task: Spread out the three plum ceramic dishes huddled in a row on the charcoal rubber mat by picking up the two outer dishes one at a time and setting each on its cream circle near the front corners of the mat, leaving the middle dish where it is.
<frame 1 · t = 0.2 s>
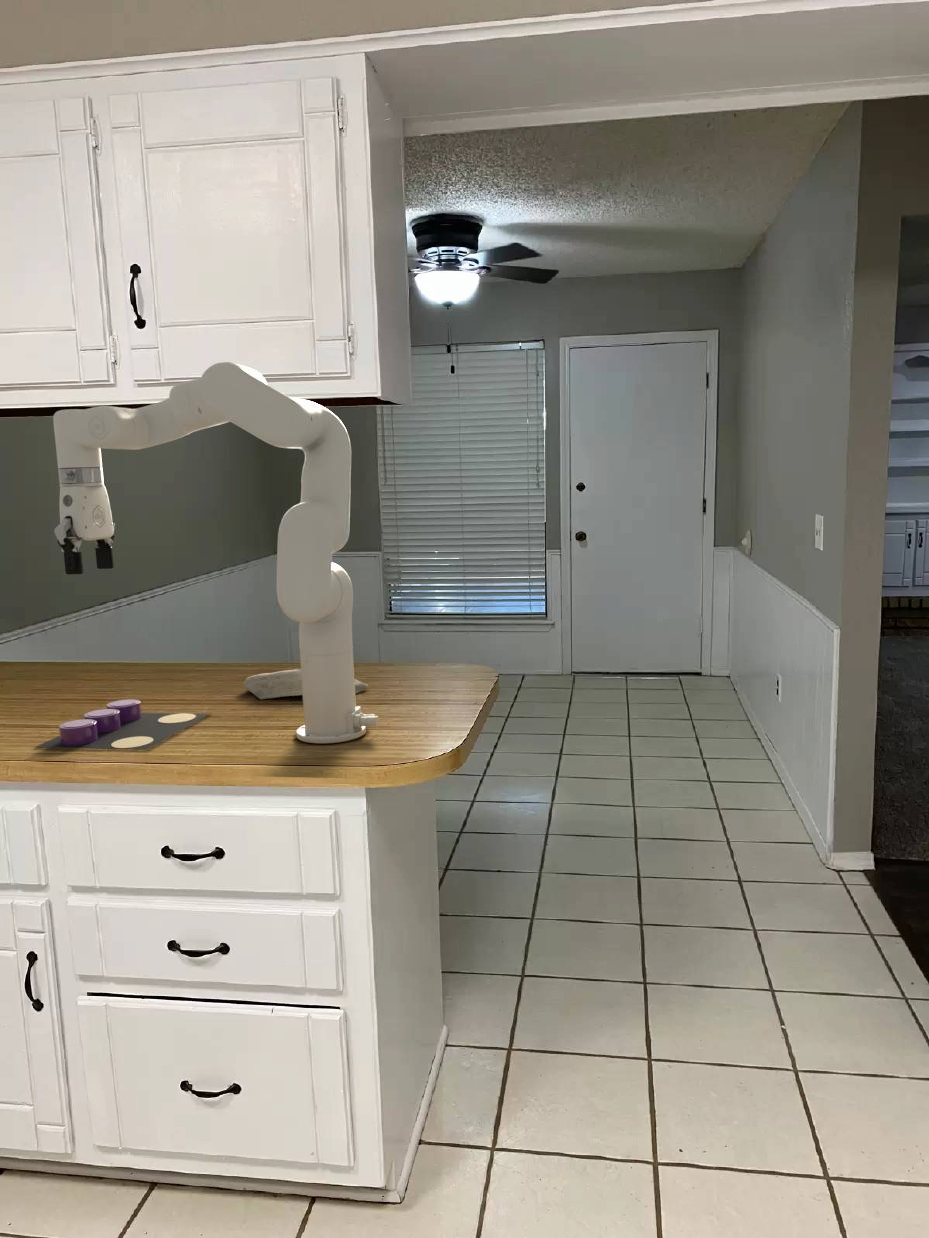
hand: (90, 571, 168), 31 cm above the table, tool pointing down, fingers open, 9 cm apart
dish c: (103, 729, 173), resting on mat
dish b: (79, 740, 166), resting on mat
dish a: (125, 718, 180), resting on mat
stone: (301, 693, 199), on the table
mat: (127, 731, 172), on the table
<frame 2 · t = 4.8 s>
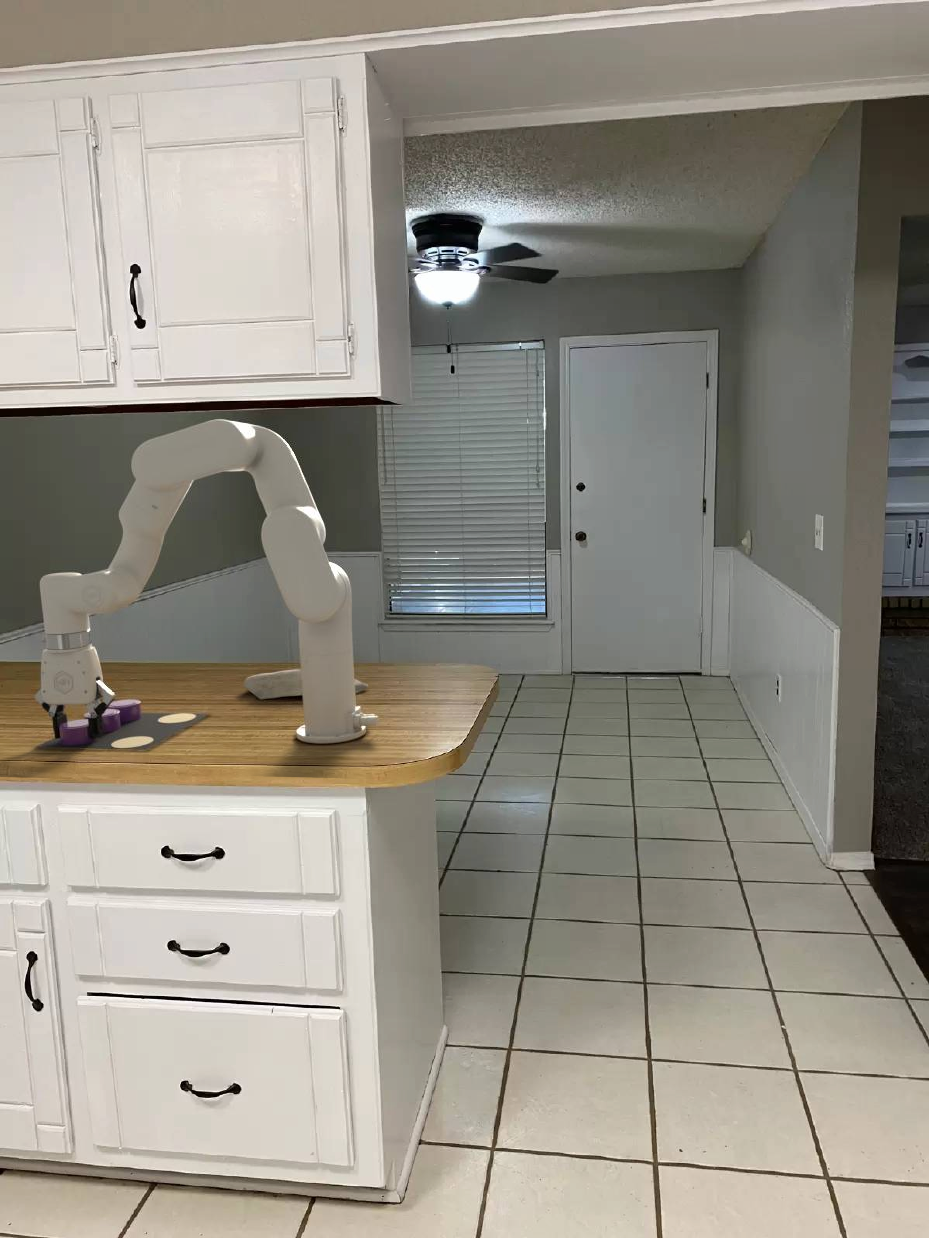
hand: (79, 736, 166), 1 cm above the table, tool pointing down, fingers closed on dish b, 6 cm apart
dish b: (79, 740, 166), resting on mat, touching gripper
everything else where it was.
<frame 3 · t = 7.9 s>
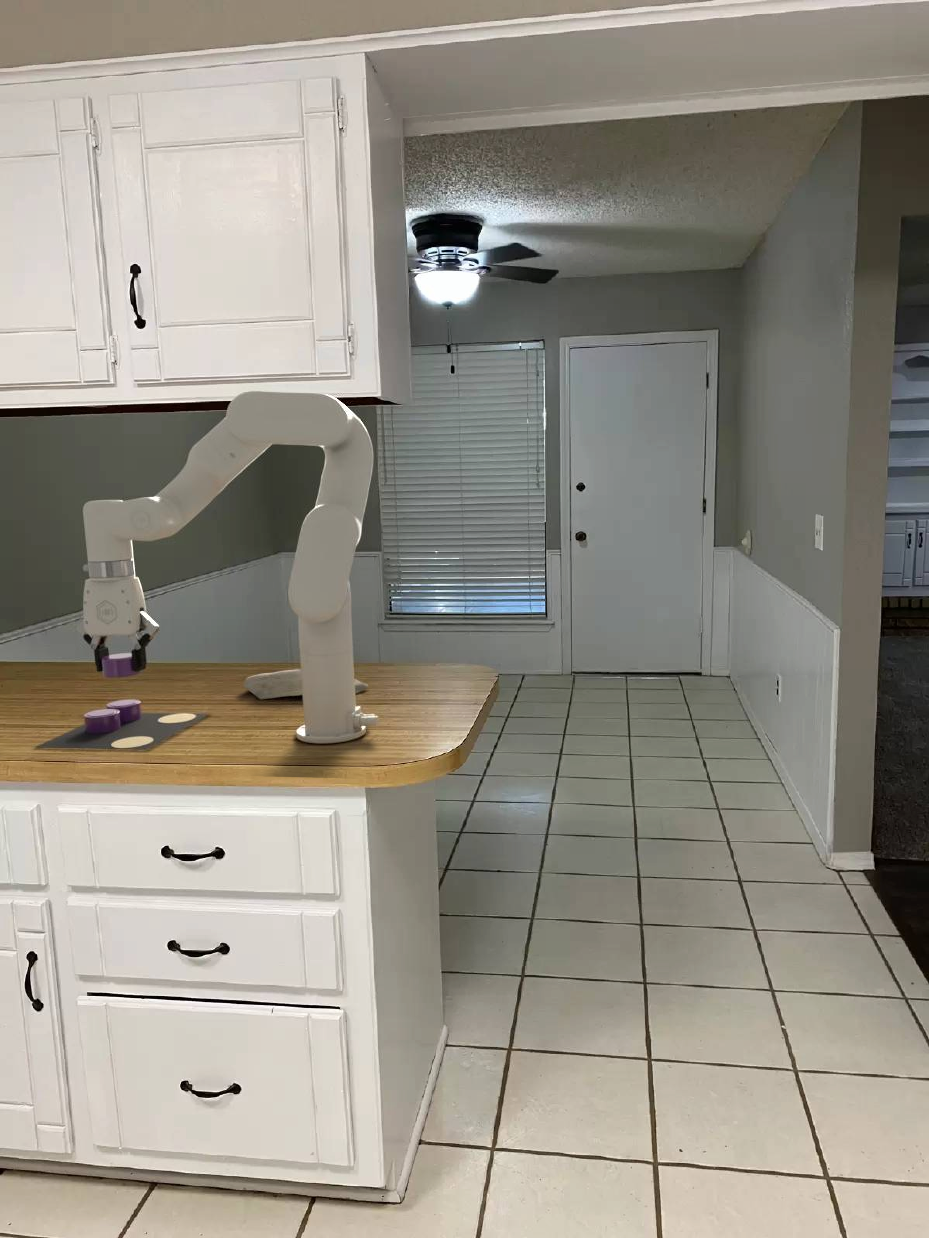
hand: (121, 669, 161), 14 cm above the table, tool pointing down, fingers closed on dish b, 6 cm apart
dish b: (122, 673, 161), point 13 cm above the table, touching gripper
everything else where it was.
when the fingers open (1 cm above the table, at t = 11.3 s): dish b stays where it is, resting on mat.
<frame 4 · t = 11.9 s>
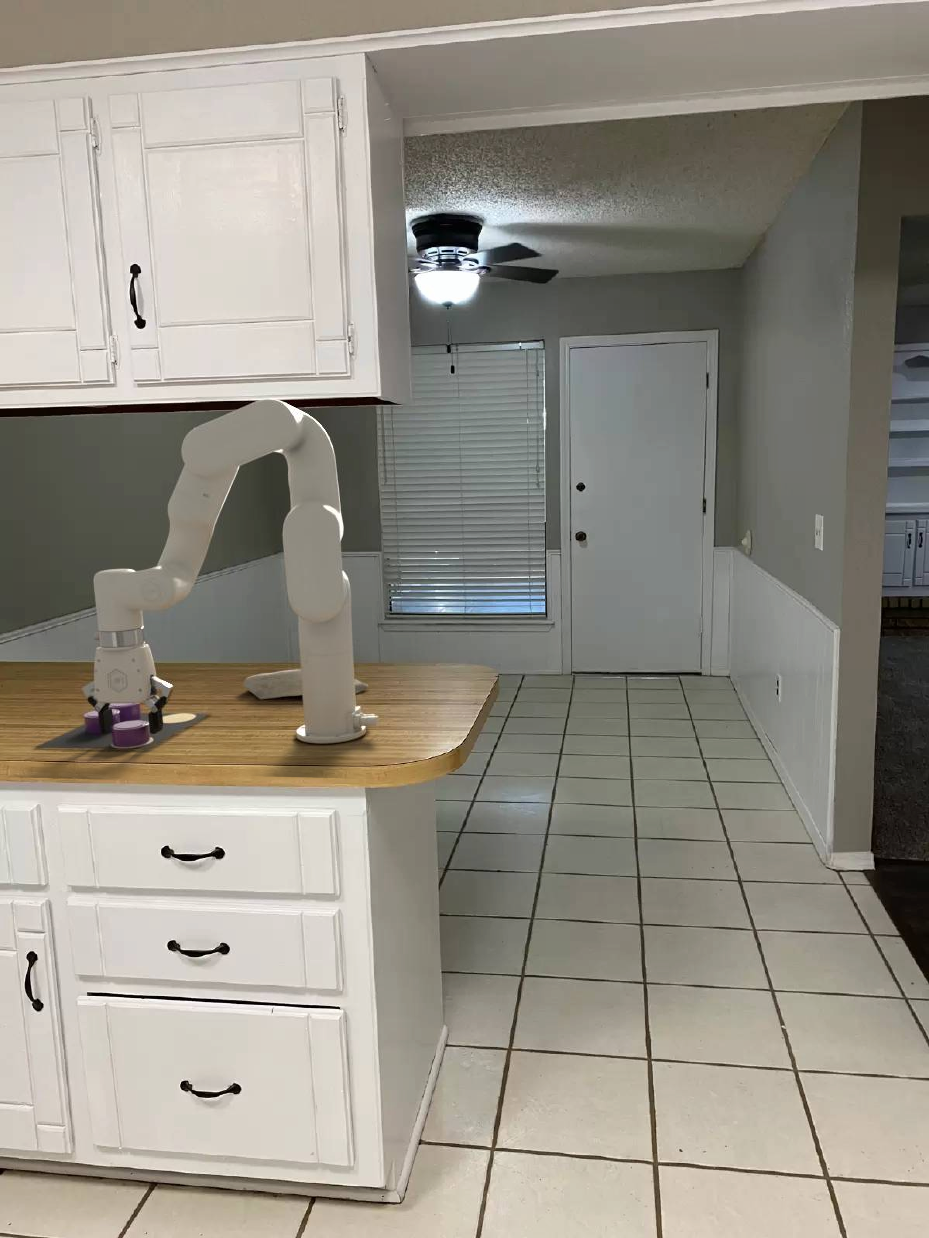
hand: (131, 731, 163), 2 cm above the table, tool pointing down, fingers open, 9 cm apart
dish b: (131, 742, 163), resting on mat
everything else where it was.
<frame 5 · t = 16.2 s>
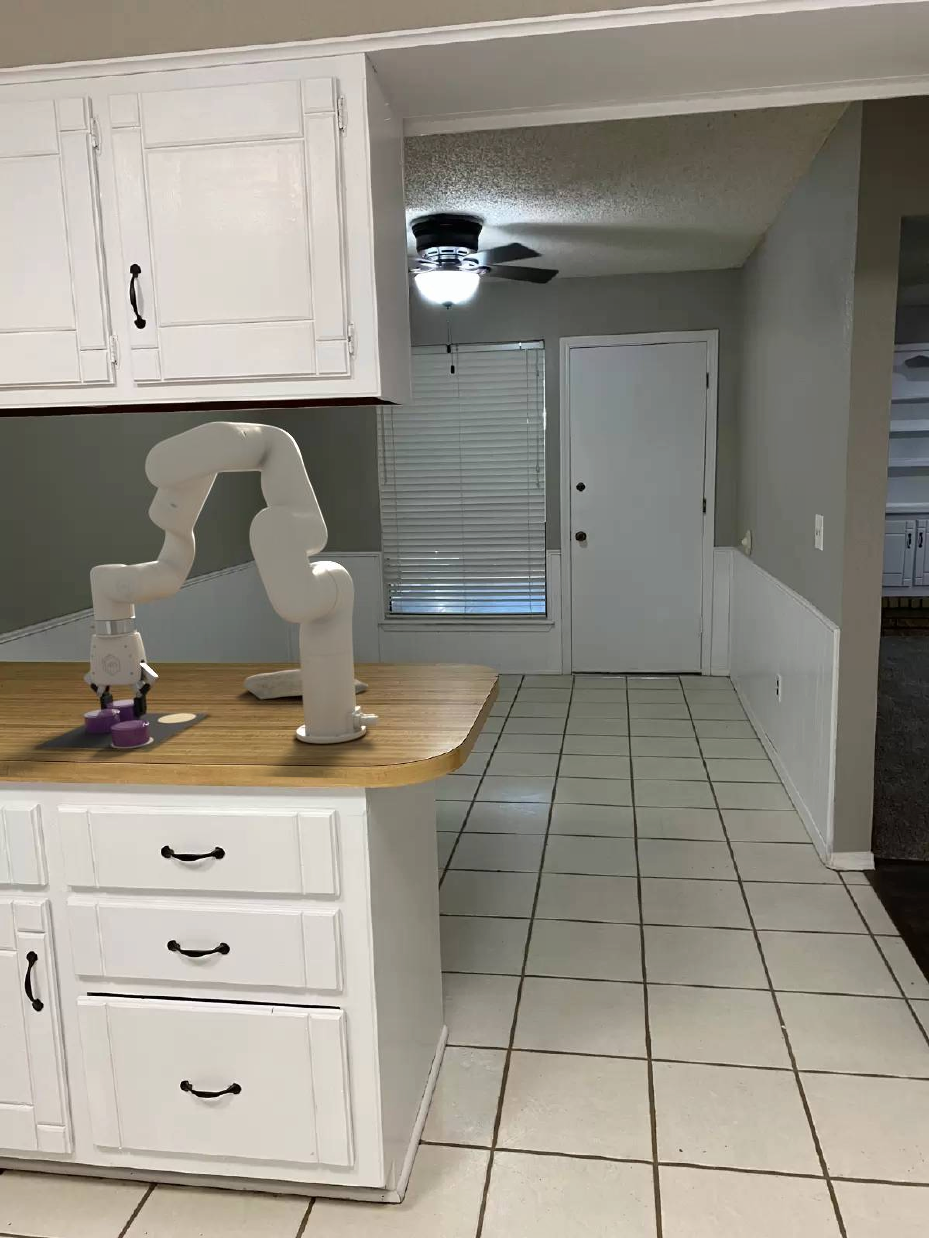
hand: (124, 714, 180), 1 cm above the table, tool pointing down, fingers closed on dish a, 6 cm apart
dish a: (124, 718, 180), resting on mat, touching gripper
everything else where it was.
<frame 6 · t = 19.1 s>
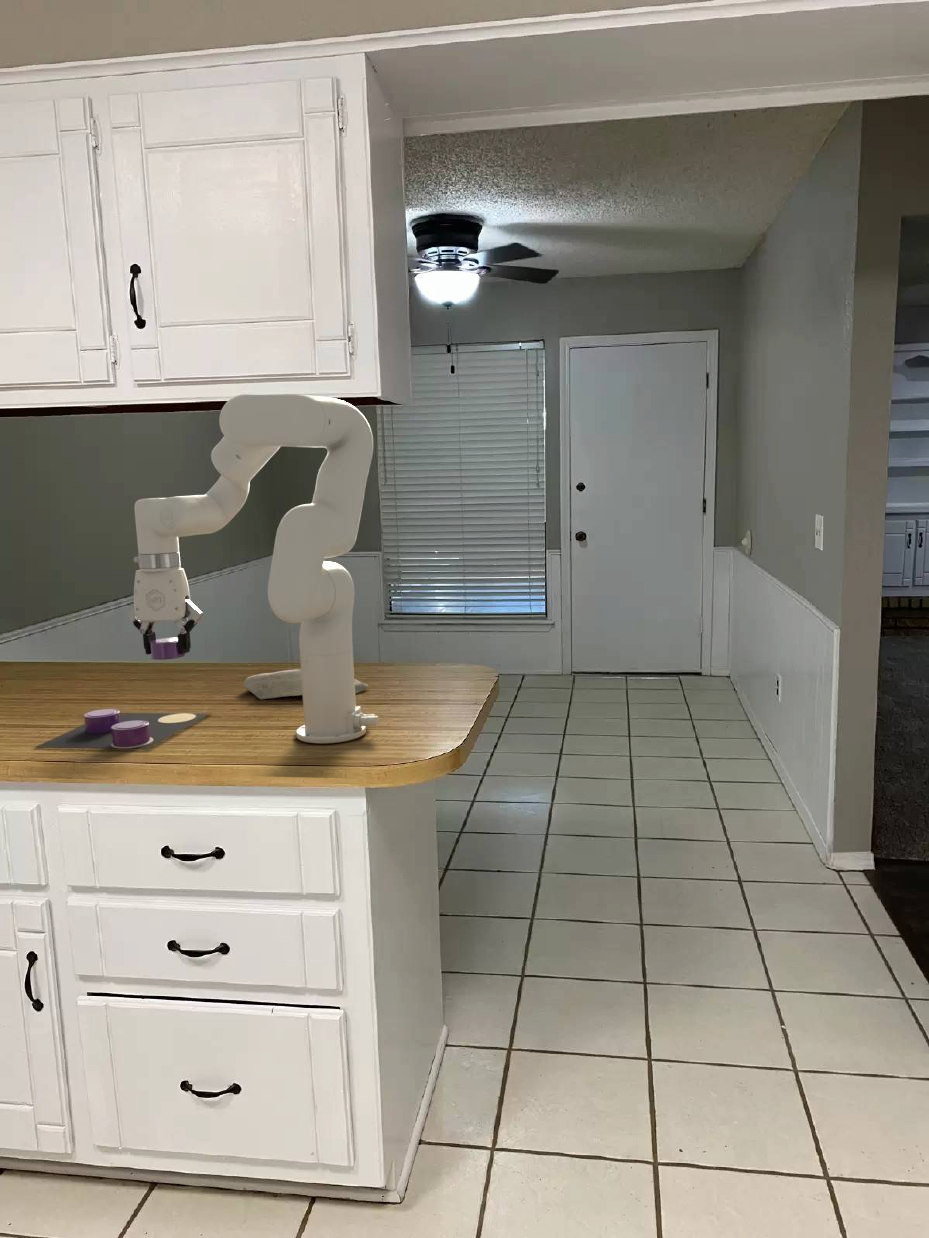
hand: (167, 652, 177), 14 cm above the table, tool pointing down, fingers closed on dish a, 6 cm apart
dish a: (168, 656, 177), point 13 cm above the table, touching gripper
everything else where it was.
when the fingers open (1 cm above the table, at t = 22.4 s): dish a stays where it is, resting on mat.
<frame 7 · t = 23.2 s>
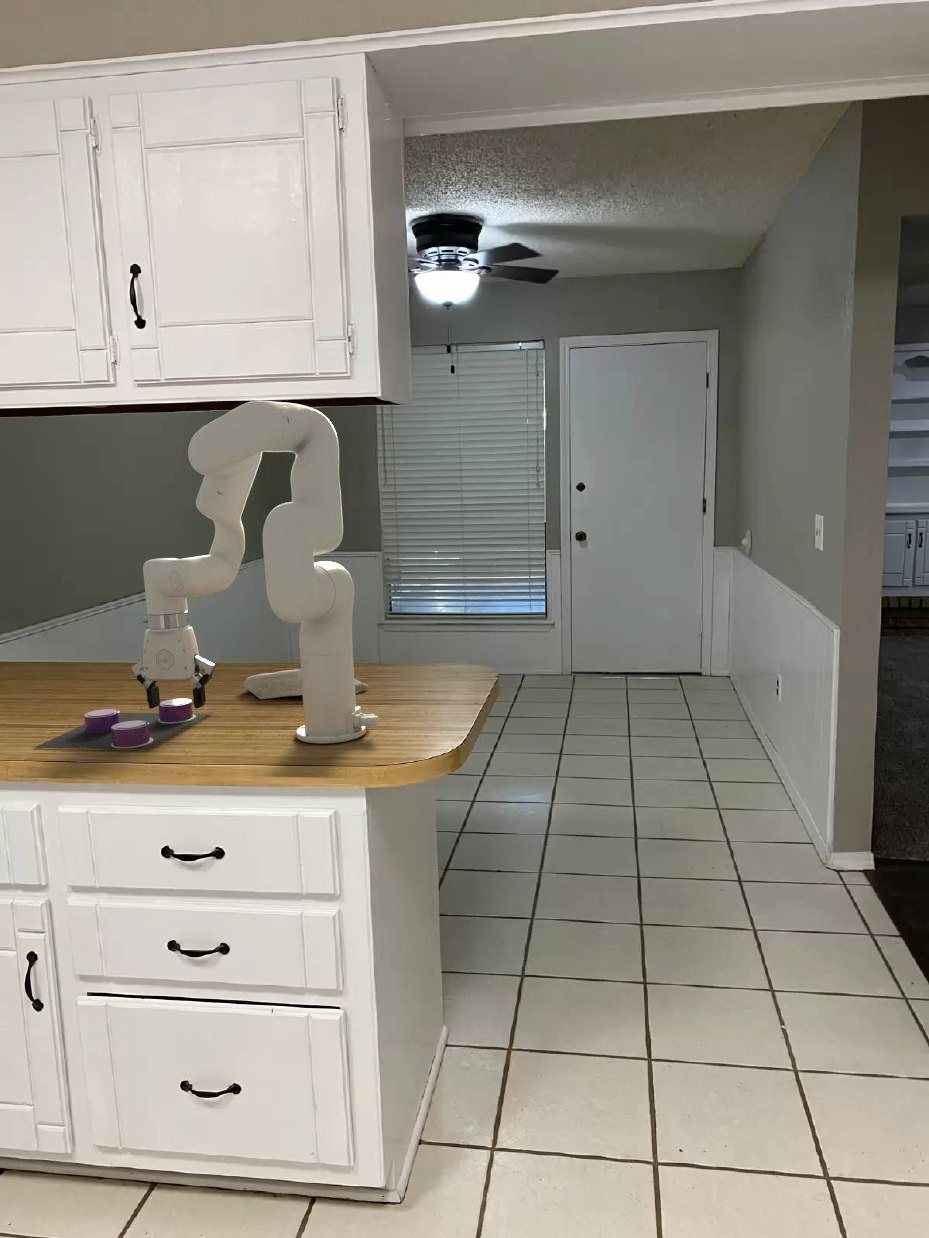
hand: (177, 706, 179), 3 cm above the table, tool pointing down, fingers open, 9 cm apart
dish a: (176, 718, 179), resting on mat
everything else where it was.
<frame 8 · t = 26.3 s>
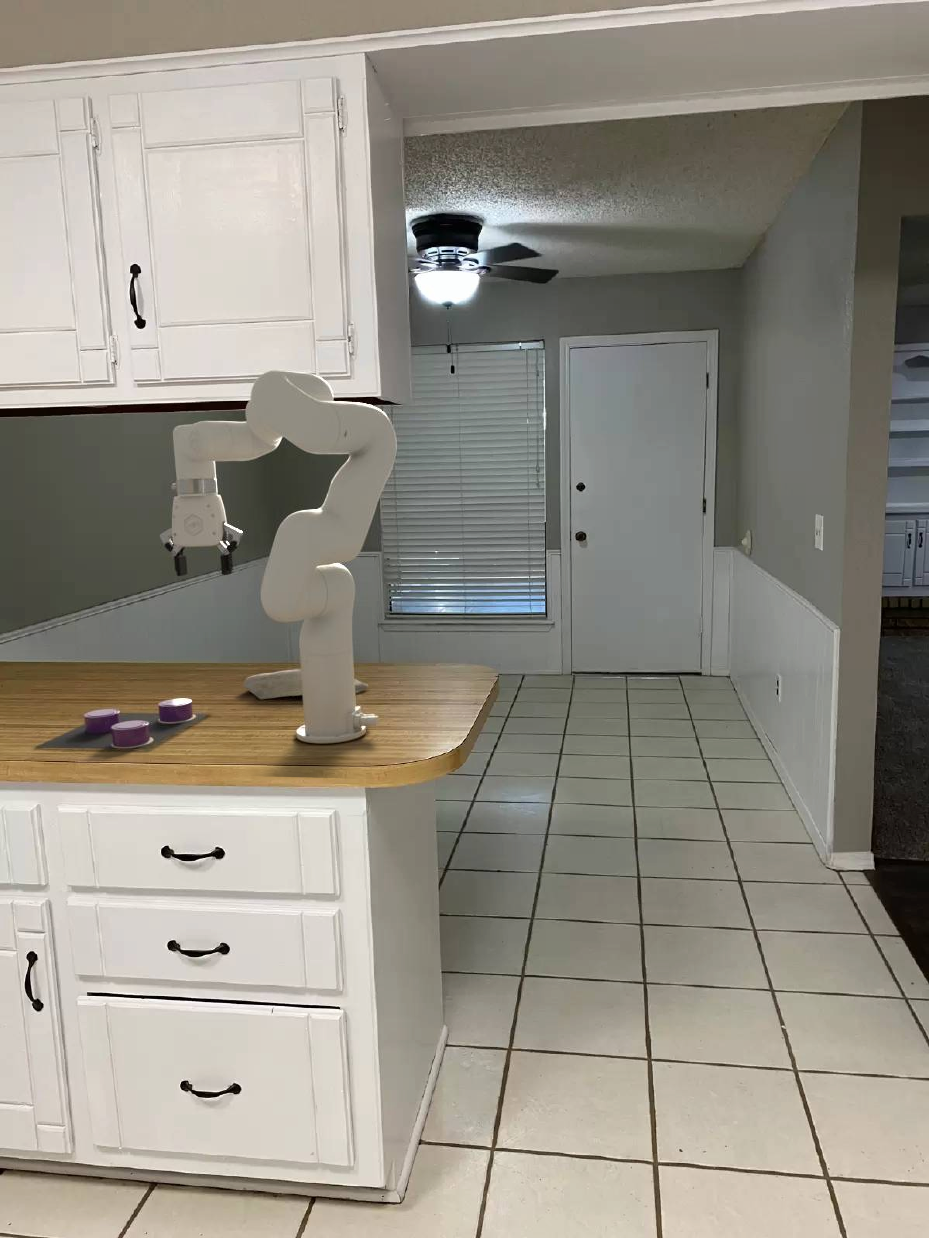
hand: (204, 574, 180), 28 cm above the table, tool pointing down, fingers open, 9 cm apart
nothing on the table moved.
at the end: dish b 0.1 cm from the target spot, point 0.5 cm above the table; dish a 0.1 cm from the target spot, point 0.5 cm above the table; dish c moved 0.0 cm from its start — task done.
